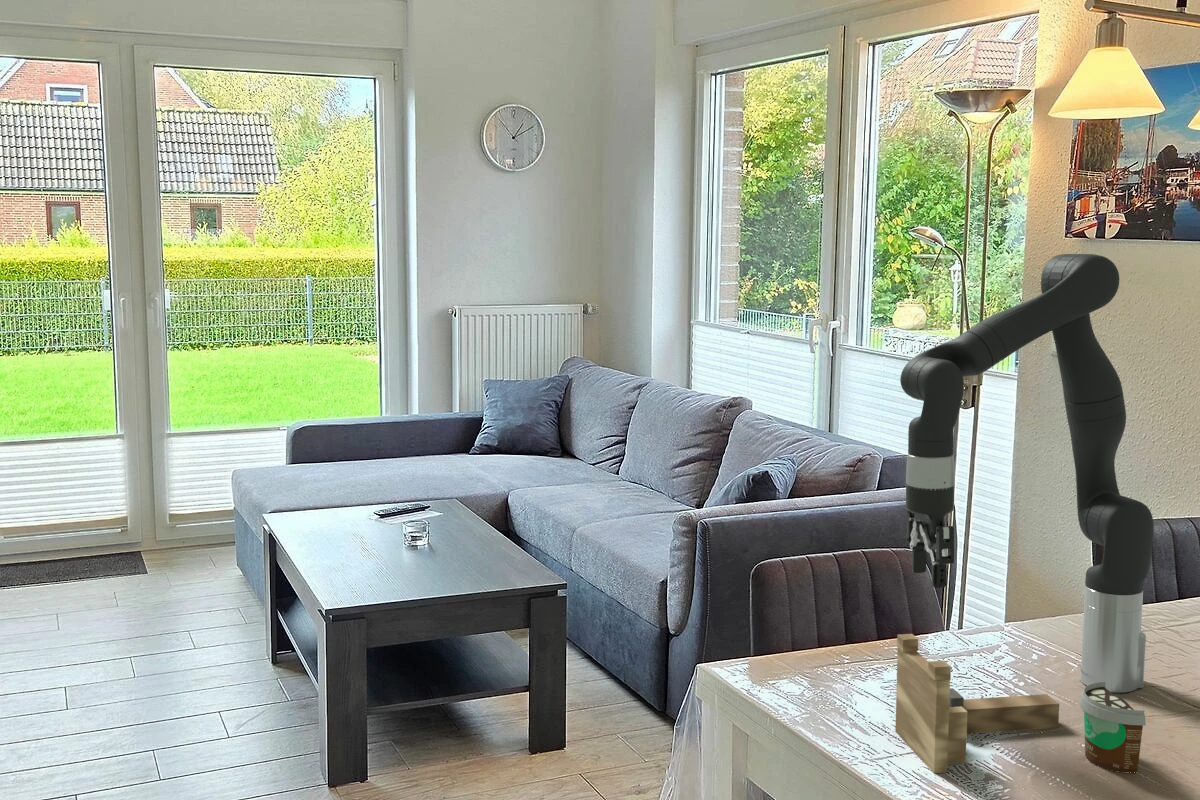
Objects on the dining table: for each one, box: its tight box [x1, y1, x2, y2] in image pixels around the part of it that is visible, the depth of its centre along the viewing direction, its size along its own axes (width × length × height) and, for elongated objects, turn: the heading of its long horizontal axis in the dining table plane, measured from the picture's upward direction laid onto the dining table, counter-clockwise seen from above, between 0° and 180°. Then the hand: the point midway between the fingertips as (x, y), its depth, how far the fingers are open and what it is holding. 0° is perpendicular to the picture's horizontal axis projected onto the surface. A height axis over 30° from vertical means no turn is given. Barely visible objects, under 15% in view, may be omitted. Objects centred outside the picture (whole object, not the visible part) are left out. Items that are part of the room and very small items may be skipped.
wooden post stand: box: [895, 633, 968, 774], centre depth 182 cm, size 6×15×16 cm, turn 8°
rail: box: [949, 687, 1060, 735], centre depth 192 cm, size 18×4×6 cm, turn 98°
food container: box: [1078, 681, 1146, 774], centre depth 179 cm, size 12×6×10 cm, turn 5°
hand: (928, 579), depth 195 cm, fingers open, 8 cm apart
